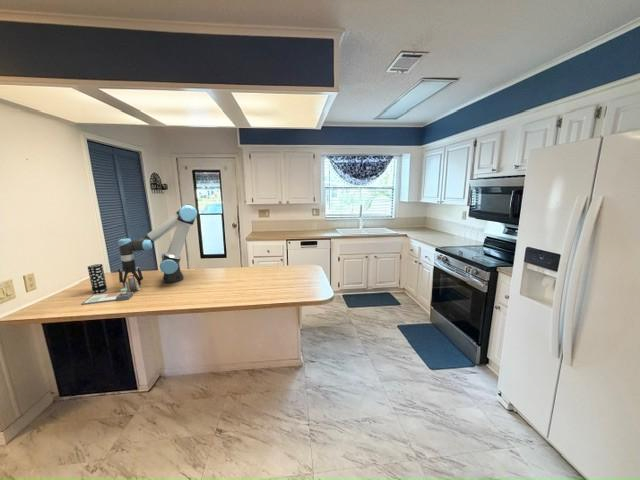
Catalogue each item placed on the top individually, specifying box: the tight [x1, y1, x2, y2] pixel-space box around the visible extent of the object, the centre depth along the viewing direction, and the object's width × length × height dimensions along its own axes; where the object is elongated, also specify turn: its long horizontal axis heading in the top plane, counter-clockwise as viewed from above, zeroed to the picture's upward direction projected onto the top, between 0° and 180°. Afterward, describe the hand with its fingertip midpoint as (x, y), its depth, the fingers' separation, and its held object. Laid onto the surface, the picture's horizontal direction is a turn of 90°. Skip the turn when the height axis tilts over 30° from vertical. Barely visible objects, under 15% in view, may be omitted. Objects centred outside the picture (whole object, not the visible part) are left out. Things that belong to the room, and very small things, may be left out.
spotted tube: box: [87, 263, 108, 295], centre depth 195 cm, size 8×8×20 cm
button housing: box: [116, 291, 134, 302], centre depth 184 cm, size 7×7×3 cm
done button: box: [119, 287, 127, 295], centre depth 183 cm, size 4×4×4 cm
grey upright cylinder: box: [127, 274, 138, 293], centre depth 195 cm, size 4×4×12 cm
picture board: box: [81, 291, 122, 306], centre depth 185 cm, size 20×15×1 cm
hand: (133, 290), depth 196 cm, fingers open, 7 cm apart
